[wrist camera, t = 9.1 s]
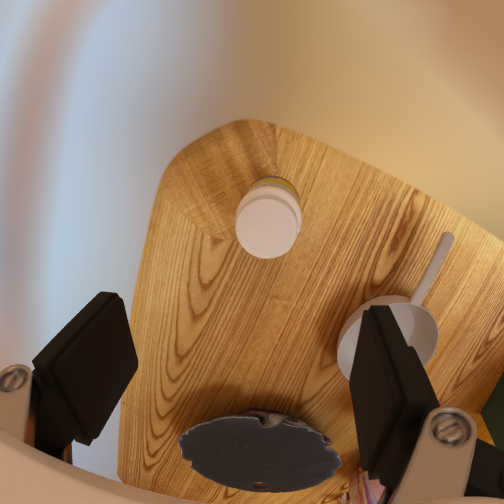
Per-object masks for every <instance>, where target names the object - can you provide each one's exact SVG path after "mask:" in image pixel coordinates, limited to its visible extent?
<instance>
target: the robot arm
mask: <svg viewBox="0 0 504 504" xmlns="http://www.w3.org/2000/svg"><path fill="white" fill-rule="evenodd" d="M32 363H33V365H34V367H35V369H34V370H33V371H32V372H31V369H30V368H29V367H27V366H25V365H17V364H16V365H12V366H9V367H7V368H5V369H3V370H2V371H1V372H0V504H209V503H202V502H197V501H191V500H186V499H181V498H176V497H172V496H167V495H163V494H159V493H155V492H151V491H147V490H144V489H140V488H136V487H133V486H130V485H126V484H123V483H120V482H116V481H113V480H111V479H108V478H105V477H102V476H99V475H96V474H94V473H91V472H88V471H86V470H83V469H80V468H78V467H75V466H73V463H72V444H71V443H72V441H73V440H74V439H75V441H76V442H79V443H82V444H85V445H87V446H90V444H91V442H92V441H93V439H96V438H97V437H98V436H99V435H100V433H101V431H102V429H103V428H104V426H105V424H106V422H107V420H108V419H109V417H110V415H111V413H112V412H113V410H114V408H115V406H116V405H117V403H118V401H119V400H120V398H121V396H122V394H123V393H124V391H125V389H126V388H127V386H128V384H129V382H130V381H131V379H132V377H133V376H134V374H135V372H136V371H137V368H138V358H137V355H136V351H135V347H134V343H133V339H132V335H131V332H130V327H129V323H128V319H127V315H126V310H125V306H124V302H123V299H122V298H120V297H119V295H118V294H117V293H112V292H100V293H98V294H97V295H96V296H95V297H94V298H93V299H92V300H91V301H90V302H89V303H88V304H87V305H86V306H85V307H84V308H83V309H82V310H81V311H80V312H79V313H78V314H77V315H76V316H75V317H74V318H73V319H72V320H71V321H70V322H69V323H68V324H67V325H66V326H65V327H64V328H63V329H62V330H61V331H60V332H59V333H58V334H57V335H56V336H55V337H54V338H53V339H52V340H51V341H50V342H49V343H48V344H47V345H46V346H45V347H44V349H43V350H42V351H41V352H40V353H39V354H38V355H37V356H36V357H35V358H34V359H33V360H32ZM349 384H350V391H351V398H352V404H353V410H354V417H355V424H356V430H357V438H358V445H359V453H360V461H361V468H362V471H368V478H369V480H376V479H379V482H380V484H381V485H382V486H384V487H385V488H384V490H383V492H382V494H381V496H380V498H379V500H378V502H377V504H504V451H503V450H501V449H499V448H497V447H494V446H493V445H490V444H488V443H486V442H484V441H482V440H480V439H478V438H477V425H476V422H475V420H474V419H473V417H472V416H471V415H470V414H469V413H468V412H466V411H465V410H463V409H461V408H458V407H455V406H441V407H440V405H439V402H438V400H437V397H436V395H435V393H434V390H433V388H432V386H431V383H430V381H429V379H428V376H427V374H426V372H425V369H424V367H423V365H422V363H421V360H420V358H419V356H418V354H417V352H416V350H415V348H414V347H412V346H408V345H407V342H406V340H405V338H404V336H403V334H402V331H401V329H400V327H399V325H398V323H397V321H396V319H395V317H394V314H393V312H392V310H391V308H390V307H389V305H371V306H370V308H369V310H364V311H363V315H362V320H361V325H360V331H359V336H358V341H357V346H356V351H355V355H354V360H353V365H352V369H351V373H350V381H349Z"/></svg>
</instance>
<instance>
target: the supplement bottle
mask: <svg viewBox="0 0 504 504" xmlns="http://www.w3.org/2000/svg"><path fill="white" fill-rule="evenodd" d="M235 223H236V227H235V230H236V236H237V239H238V241H239V243H240V245H241V246H242V247H243V248H244V249H245V250H246V251H247V252H248V253H250V254H251V255H253V256H255V257H258V258H263V259H272V258H276V257H279V256H281V255H283V254H285V253H286V252H288V251H289V250H290V249H291V247H292V246H293V245H294V243H295V241H296V238H297V236H298V234H299V232H300V229H301V226H302V211H301V205H300V200H299V196H298V193H297V191H296V189H295V188H294V186H293V185H292V184H291V183H290V182H289V181H287V180H285V179H283V178H281V177H276V176H268V177H264V178H261V179H259V180H257V181H256V182H255V183H254V184H253V185H252V186H251V187H250V188H249V190H248V191H247V193H246V194H245V196H244V197H243V199H242V200H241V202H240V203H239V205H238V207H237V210H236V215H235Z"/></svg>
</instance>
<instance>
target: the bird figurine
mask: <svg viewBox="0 0 504 504" xmlns="http://www.w3.org/2000/svg"><path fill="white" fill-rule="evenodd" d="M343 494H344V495H342V494H341V495H342V497H341V499H340V498H339V497H338V498H339V500H338V502H339V504H352V502H351V500H350V499H349V500H347V501H346V495H345V494H346V492H345V493H343Z"/></svg>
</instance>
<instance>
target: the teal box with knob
mask: <svg viewBox="0 0 504 504" xmlns="http://www.w3.org/2000/svg"><path fill="white" fill-rule="evenodd" d="M481 415H482V417H483V420H484V422H485V424H486V426H487V428H488V430H489V433H490V435H491V437H492V439H493V442H494V444H495V446H496V447H497V448H499V449H501V450H503V451H504V372H503V374H502V376H501V378H500V380H499V382H498V384H497V386H496V388H495V390H494V391H493V393H492V395H491V397H490V398H489V400H488V402H487V404H486V405H485V407H484V409H483V410H482V412H481Z"/></svg>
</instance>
